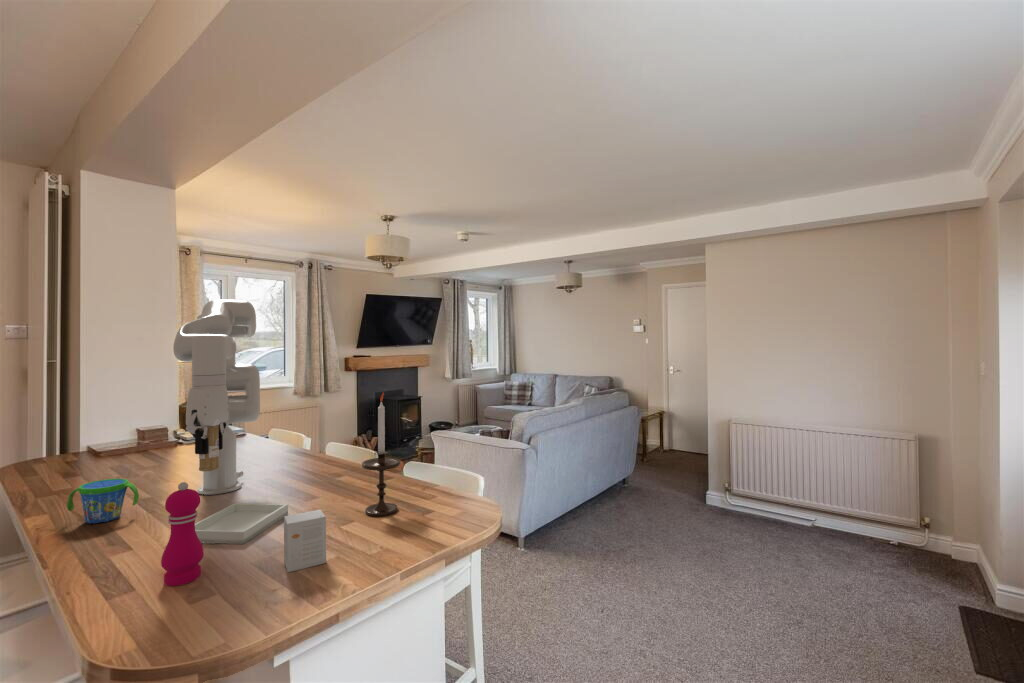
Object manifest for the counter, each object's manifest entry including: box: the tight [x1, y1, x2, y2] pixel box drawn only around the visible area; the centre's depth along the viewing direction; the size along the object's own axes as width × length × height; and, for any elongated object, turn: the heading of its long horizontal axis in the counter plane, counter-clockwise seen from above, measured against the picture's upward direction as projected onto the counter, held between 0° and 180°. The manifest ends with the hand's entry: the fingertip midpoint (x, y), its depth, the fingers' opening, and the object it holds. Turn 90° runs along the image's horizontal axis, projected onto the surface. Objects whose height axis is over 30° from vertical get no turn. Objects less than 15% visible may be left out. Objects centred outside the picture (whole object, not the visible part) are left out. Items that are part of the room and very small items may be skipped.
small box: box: [283, 509, 327, 573], centre depth 103 cm, size 8×6×10 cm
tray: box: [195, 502, 289, 545], centre depth 124 cm, size 20×16×3 cm
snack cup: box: [66, 478, 139, 525], centre depth 130 cm, size 16×10×10 cm
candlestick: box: [361, 391, 401, 518], centre depth 136 cm, size 11×11×35 cm
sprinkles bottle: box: [198, 419, 219, 472], centre depth 121 cm, size 5×5×14 cm
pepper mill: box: [160, 481, 205, 587], centre depth 97 cm, size 7×7×20 cm
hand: (209, 450), depth 121 cm, fingers closed on sprinkles bottle, 4 cm apart
